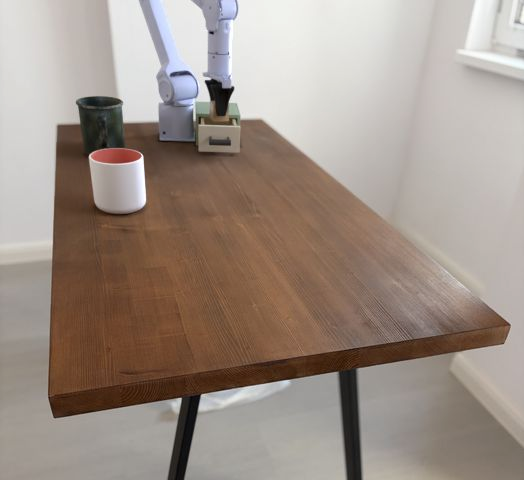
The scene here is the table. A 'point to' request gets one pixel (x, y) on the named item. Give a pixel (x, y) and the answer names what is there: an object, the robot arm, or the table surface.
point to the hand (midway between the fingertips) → (218, 113)
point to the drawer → (218, 136)
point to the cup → (118, 180)
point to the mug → (101, 123)
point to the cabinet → (204, 111)
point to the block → (214, 115)
